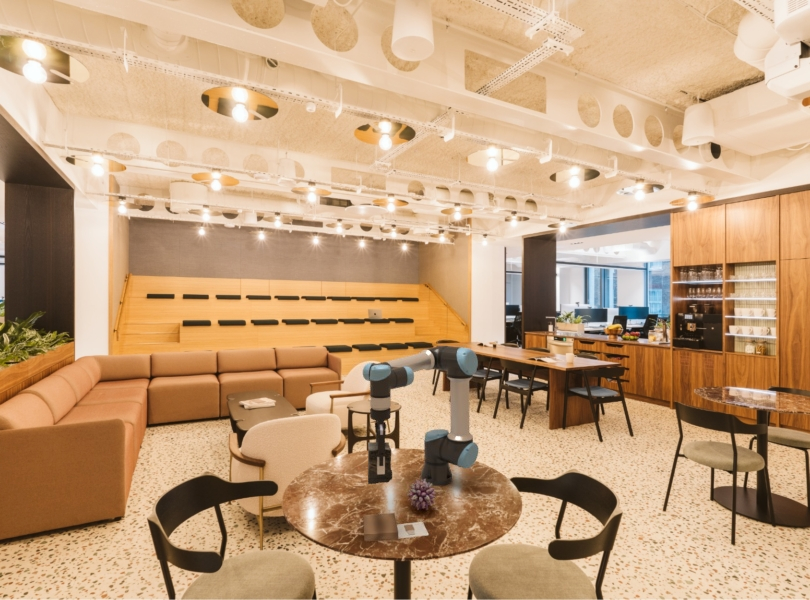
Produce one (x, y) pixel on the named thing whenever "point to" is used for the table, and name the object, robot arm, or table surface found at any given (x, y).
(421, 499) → the flower
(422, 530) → the page
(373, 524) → the base brick
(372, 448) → the stone block
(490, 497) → the table surface
